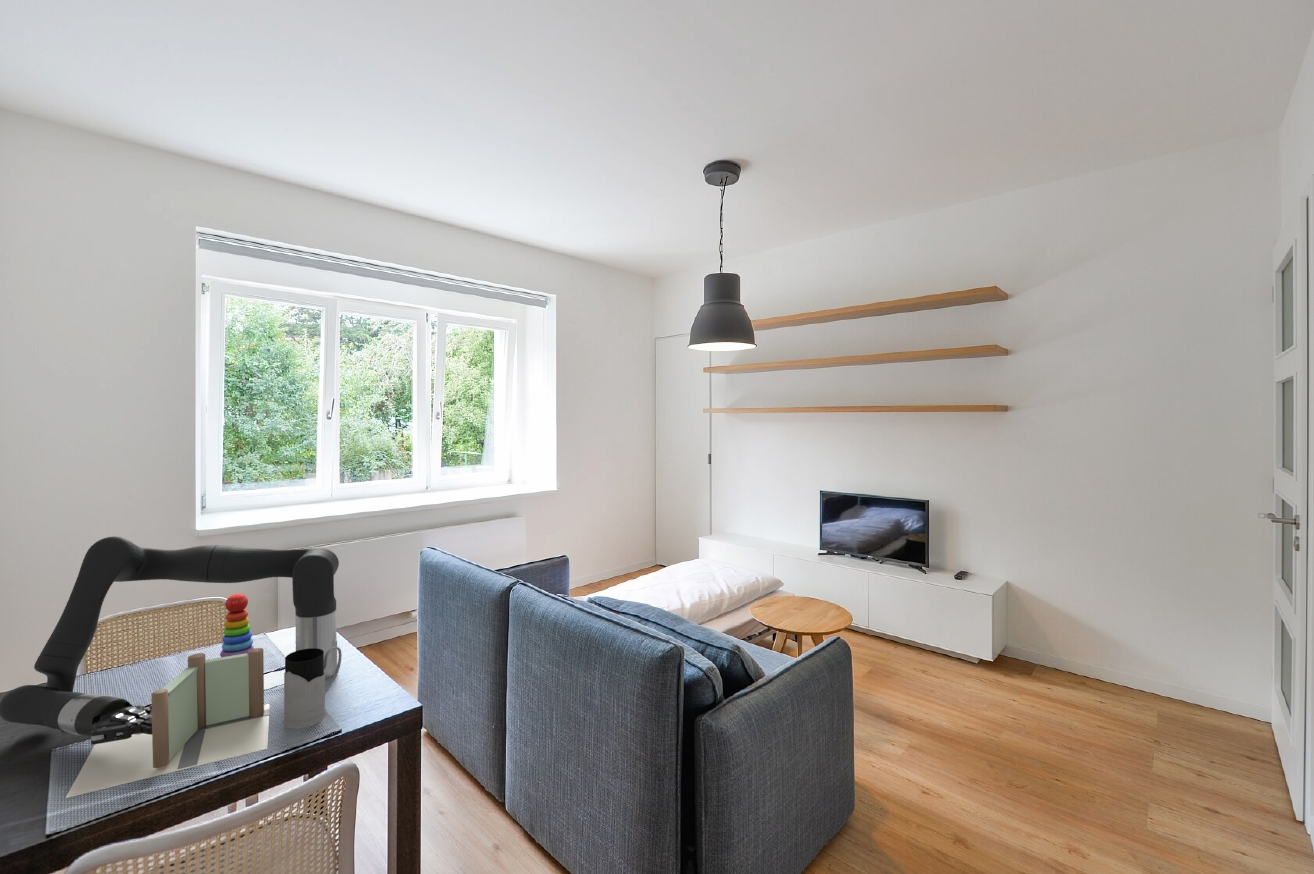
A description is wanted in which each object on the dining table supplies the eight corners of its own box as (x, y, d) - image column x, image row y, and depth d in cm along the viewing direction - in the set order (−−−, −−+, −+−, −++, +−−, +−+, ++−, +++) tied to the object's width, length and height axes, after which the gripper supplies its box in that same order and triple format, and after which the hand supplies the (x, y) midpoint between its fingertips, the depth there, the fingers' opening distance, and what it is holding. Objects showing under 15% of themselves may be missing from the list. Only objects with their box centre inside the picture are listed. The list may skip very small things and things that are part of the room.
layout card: (269, 705, 138) (269, 703, 138) (267, 750, 120) (267, 747, 120) (97, 741, 122) (97, 739, 122) (65, 799, 104) (65, 797, 104)
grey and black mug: (272, 725, 129) (272, 659, 128) (326, 695, 143) (326, 636, 142) (302, 733, 127) (302, 666, 126) (355, 702, 140) (354, 641, 139)
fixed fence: (264, 710, 135) (263, 642, 134) (263, 716, 132) (263, 647, 131) (190, 726, 127) (188, 654, 127) (188, 732, 125) (186, 660, 124)
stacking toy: (262, 658, 162) (261, 592, 162) (233, 670, 155) (232, 601, 154) (242, 653, 165) (241, 588, 164) (212, 665, 158) (211, 597, 157)
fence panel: (186, 730, 125) (185, 664, 124) (199, 729, 125) (198, 662, 125) (150, 769, 111) (148, 695, 111) (165, 768, 112) (163, 694, 111)
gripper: (54, 714, 112) (124, 727, 108) (130, 682, 125) (194, 693, 121) (55, 751, 113) (125, 766, 109) (130, 716, 125) (195, 728, 122)
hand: (161, 727), depth 115 cm, fingers closed
